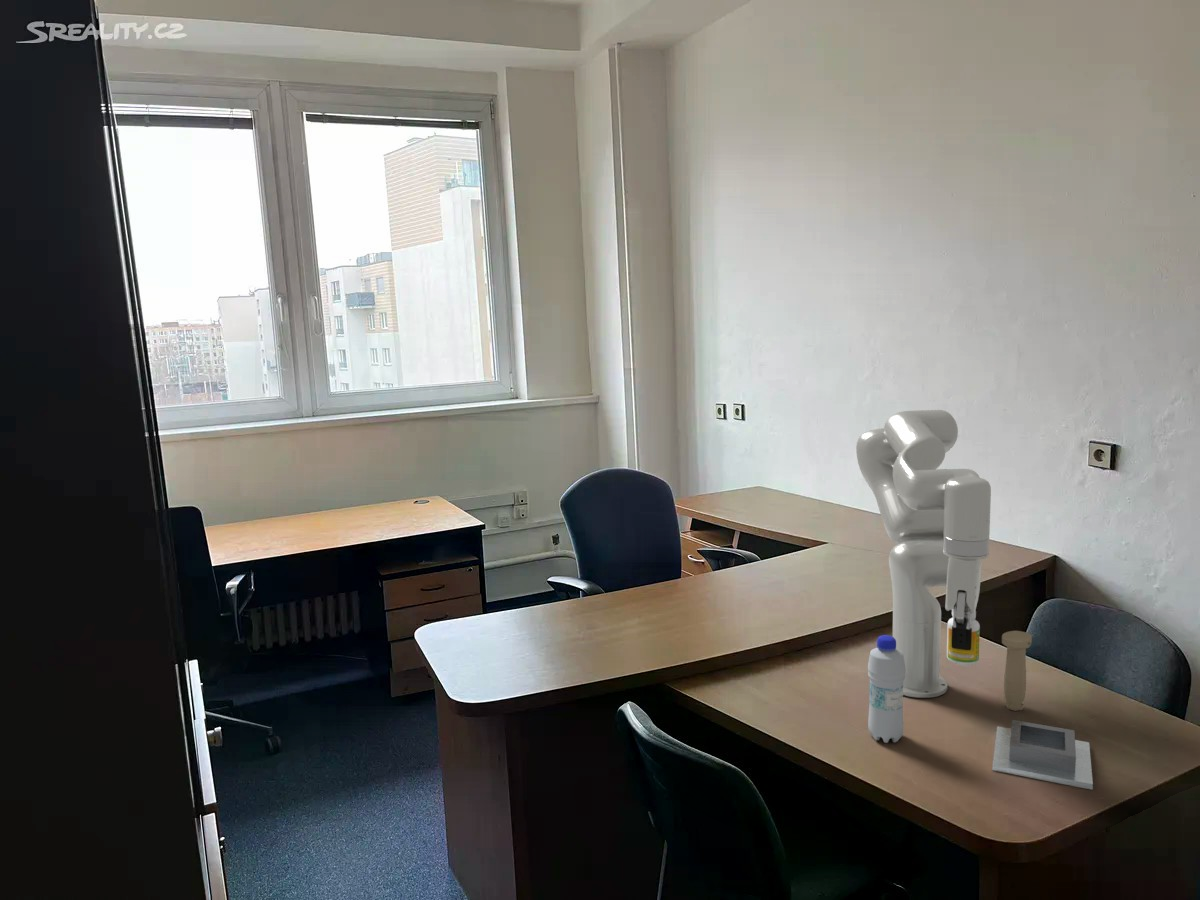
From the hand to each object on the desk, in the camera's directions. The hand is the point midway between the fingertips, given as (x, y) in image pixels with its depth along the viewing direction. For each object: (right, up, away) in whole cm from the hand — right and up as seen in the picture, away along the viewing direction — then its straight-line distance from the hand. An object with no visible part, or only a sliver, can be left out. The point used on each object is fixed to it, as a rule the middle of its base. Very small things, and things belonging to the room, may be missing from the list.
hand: (963, 641), depth 152 cm
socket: (+12, -20, -4) cm, 24 cm away
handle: (+17, -17, +15) cm, 28 cm away
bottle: (-12, -19, +6) cm, 24 cm away
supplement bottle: (0, -4, +1) cm, 4 cm away
